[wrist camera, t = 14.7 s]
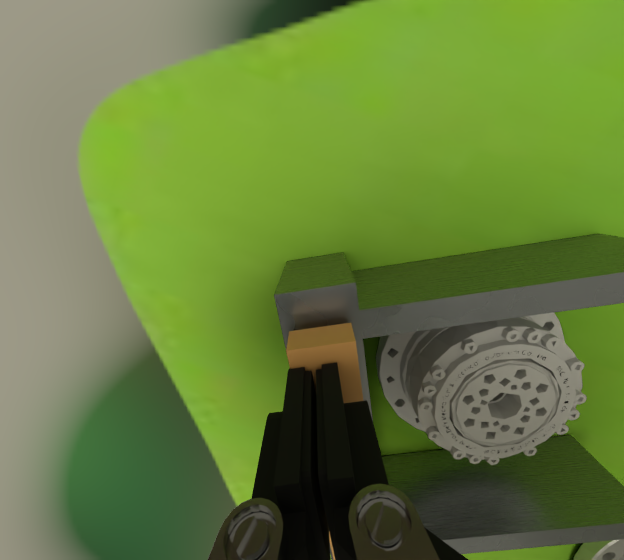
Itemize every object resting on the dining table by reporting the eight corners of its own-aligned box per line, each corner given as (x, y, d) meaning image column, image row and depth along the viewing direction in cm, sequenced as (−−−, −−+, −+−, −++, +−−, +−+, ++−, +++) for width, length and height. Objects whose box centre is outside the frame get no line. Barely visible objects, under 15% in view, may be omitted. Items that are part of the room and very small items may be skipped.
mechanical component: (357, 406, 18) (504, 430, 19) (369, 470, 14) (559, 500, 15) (401, 257, 15) (575, 291, 16) (433, 282, 11) (669, 327, 12)
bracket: (566, 461, 19) (693, 599, 13) (331, 486, 20) (338, 627, 14) (602, 211, 14) (839, 232, 8) (286, 261, 15) (266, 315, 9)
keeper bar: (390, 563, 15) (397, 595, 14) (332, 568, 15) (334, 600, 14) (362, 321, 10) (368, 339, 9) (277, 332, 10) (273, 352, 9)
